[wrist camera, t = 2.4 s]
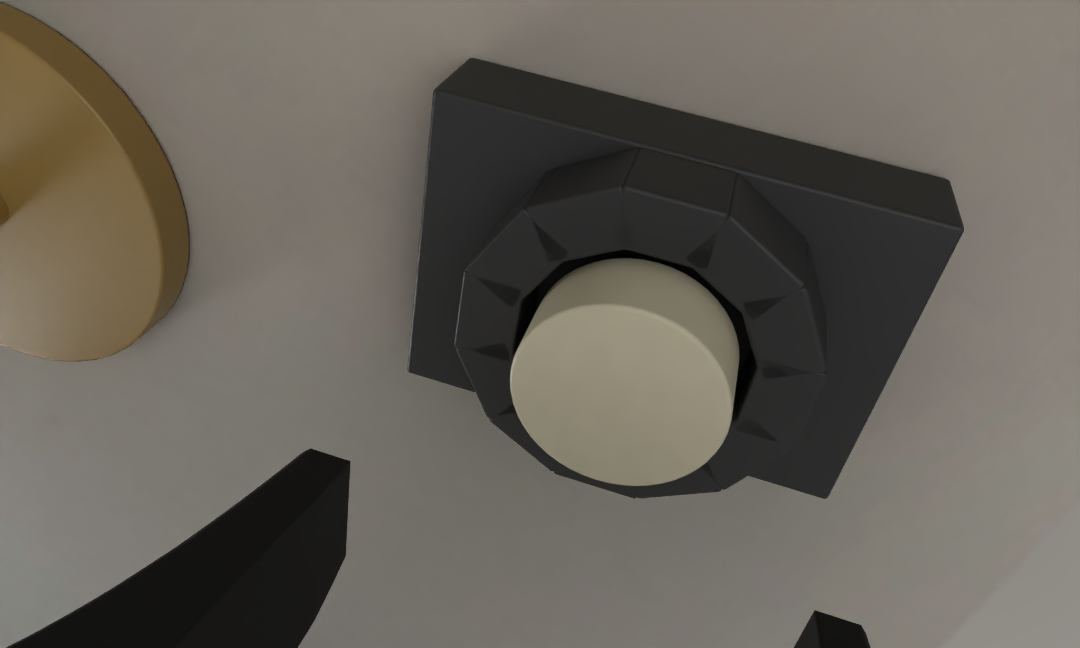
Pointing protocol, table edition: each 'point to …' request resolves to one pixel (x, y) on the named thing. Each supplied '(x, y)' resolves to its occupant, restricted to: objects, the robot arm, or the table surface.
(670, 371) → the button
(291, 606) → the robot arm
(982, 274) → the table surface
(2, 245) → the desk lamp
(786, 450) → the switch block
